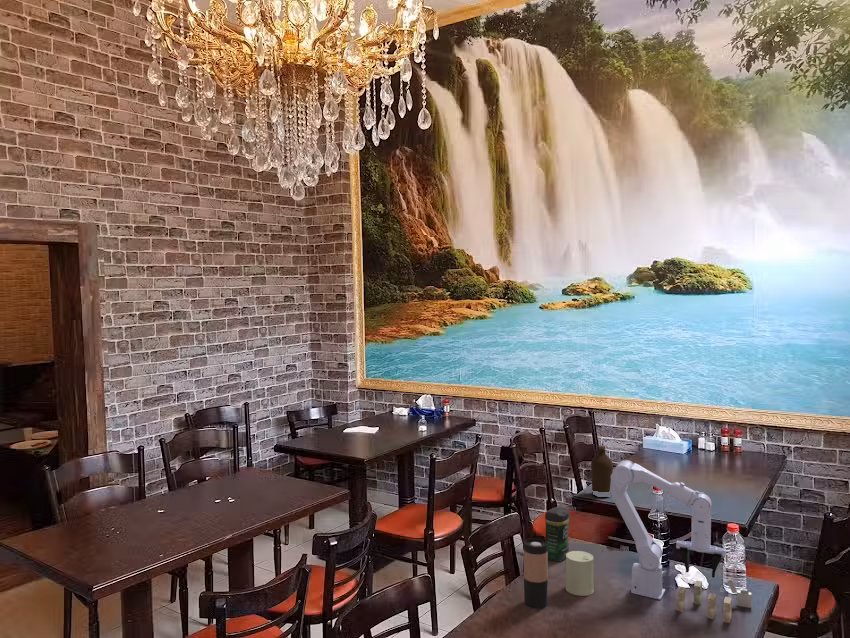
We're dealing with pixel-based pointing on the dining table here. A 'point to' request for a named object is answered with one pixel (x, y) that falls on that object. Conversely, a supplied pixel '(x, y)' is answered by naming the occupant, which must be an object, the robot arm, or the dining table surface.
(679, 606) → the domino
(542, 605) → the travel mug
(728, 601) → the domino
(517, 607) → the dining table surface
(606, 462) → the olive oil
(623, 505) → the robot arm
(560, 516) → the coffee jar
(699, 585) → the domino
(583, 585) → the can
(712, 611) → the domino
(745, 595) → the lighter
